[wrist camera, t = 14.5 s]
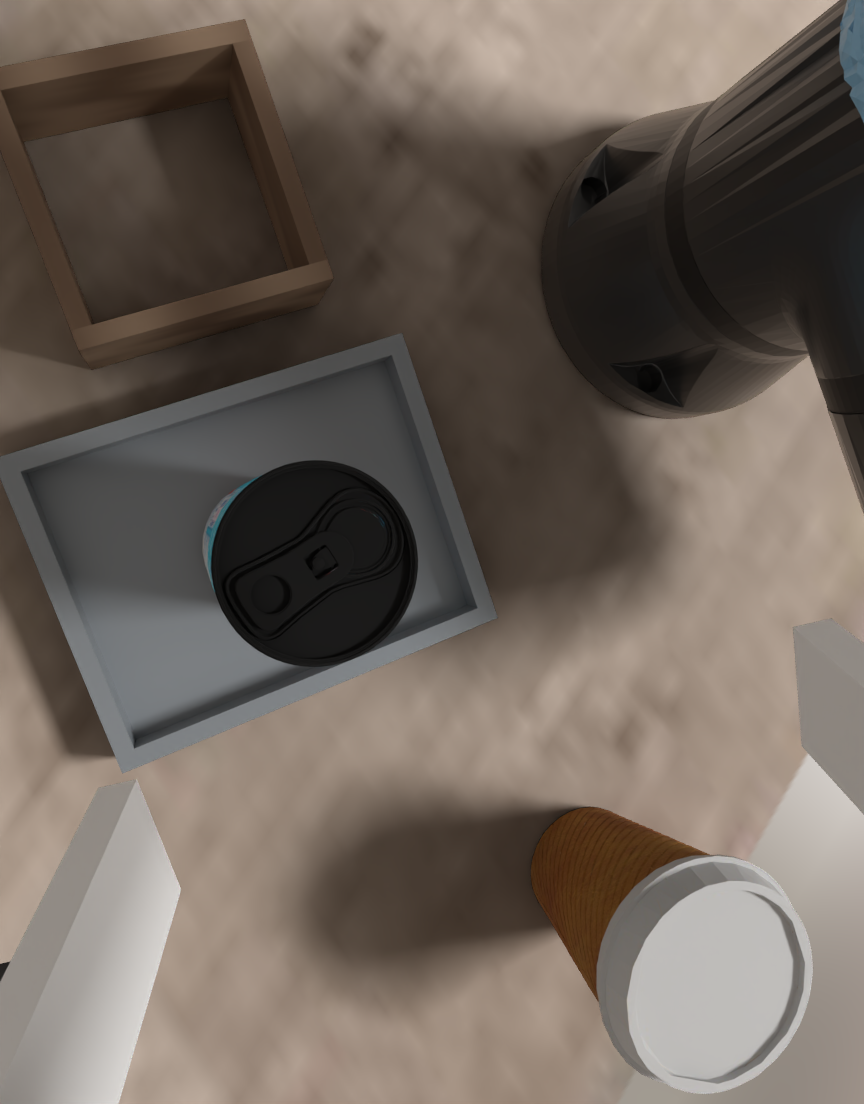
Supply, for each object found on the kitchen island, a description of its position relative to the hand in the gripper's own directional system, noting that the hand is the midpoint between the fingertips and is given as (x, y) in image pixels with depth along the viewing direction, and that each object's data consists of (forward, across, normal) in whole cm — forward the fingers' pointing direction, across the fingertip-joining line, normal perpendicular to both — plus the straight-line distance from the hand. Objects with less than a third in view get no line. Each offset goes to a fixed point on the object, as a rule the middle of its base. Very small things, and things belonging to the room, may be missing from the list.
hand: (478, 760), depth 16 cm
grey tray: (+23, -8, -2) cm, 25 cm away
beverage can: (+23, -7, -2) cm, 24 cm away
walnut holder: (+27, -8, +13) cm, 31 cm away
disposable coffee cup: (+22, +4, -23) cm, 32 cm away
